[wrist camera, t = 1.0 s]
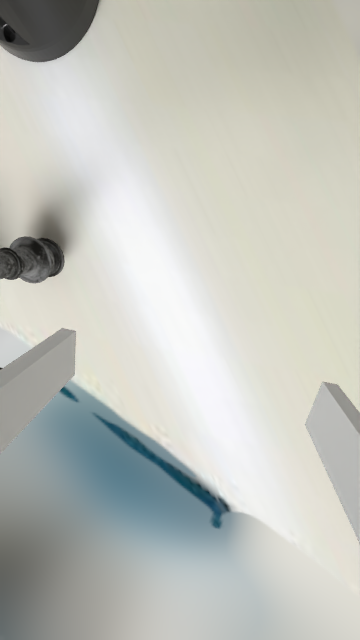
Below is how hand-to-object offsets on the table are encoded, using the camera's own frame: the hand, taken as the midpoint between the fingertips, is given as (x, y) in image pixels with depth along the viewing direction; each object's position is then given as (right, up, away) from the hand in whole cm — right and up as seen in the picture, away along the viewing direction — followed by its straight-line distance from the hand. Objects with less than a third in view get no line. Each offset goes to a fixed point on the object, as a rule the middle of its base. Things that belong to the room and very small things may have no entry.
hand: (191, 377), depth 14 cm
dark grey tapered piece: (-19, +12, +24) cm, 33 cm away
